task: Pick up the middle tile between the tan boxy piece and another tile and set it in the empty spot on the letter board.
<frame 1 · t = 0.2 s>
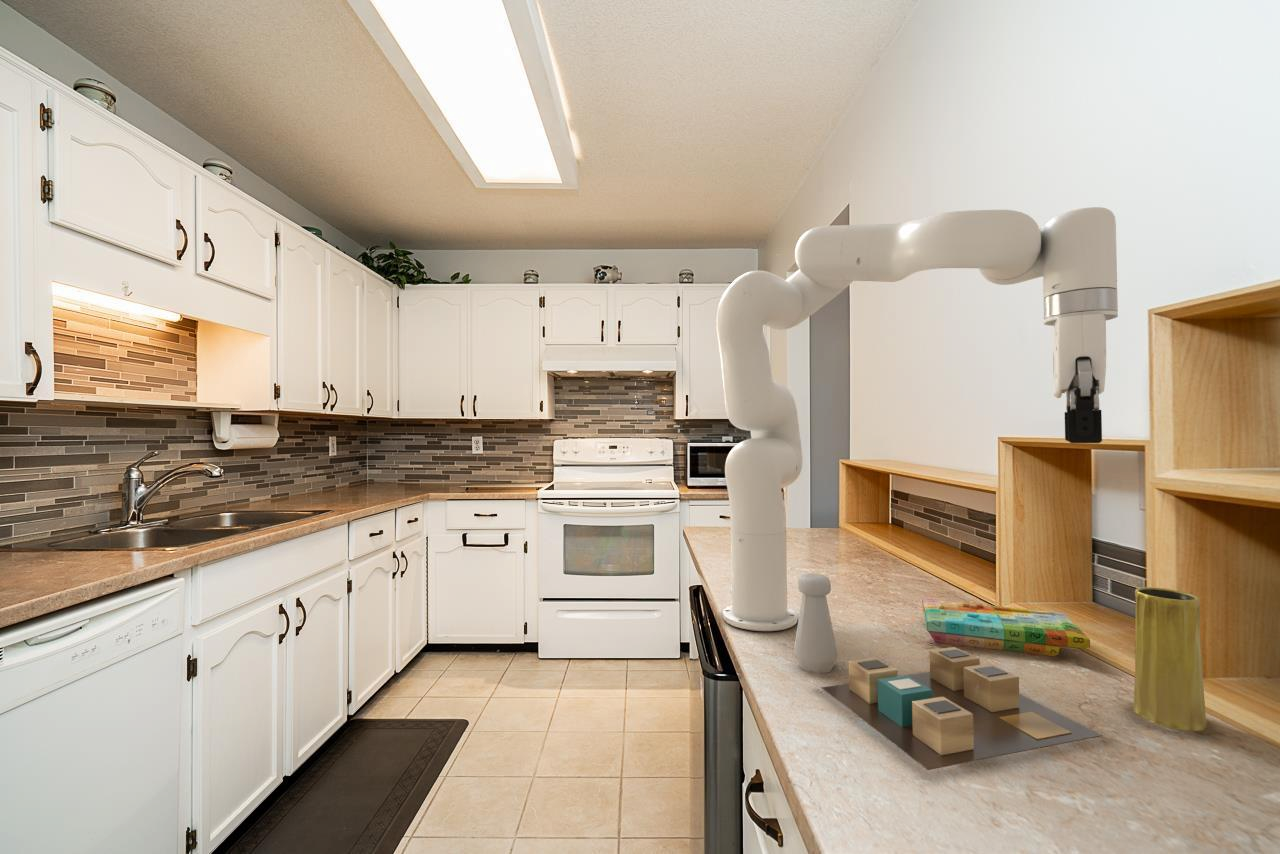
hand: (1082, 442, 73), 31 cm above the countertop, tool pointing down, fingers open, 9 cm apart
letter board: (949, 714, 65), on the countertop
tile s: (905, 716, 64), point 1 cm above the countertop, touching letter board
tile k: (942, 742, 59), point 1 cm above the countertop, touching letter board
vase: (1168, 723, 63), on the countertop
salt shaker: (815, 671, 78), on the countertop
tan boxy piece: (873, 694, 69), point 1 cm above the countertop, touching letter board
puzzle game: (997, 643, 87), on the countertop
tile t: (991, 702, 67), point 1 cm above the countertop, touching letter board
tile i: (954, 682, 72), point 1 cm above the countertop, touching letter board
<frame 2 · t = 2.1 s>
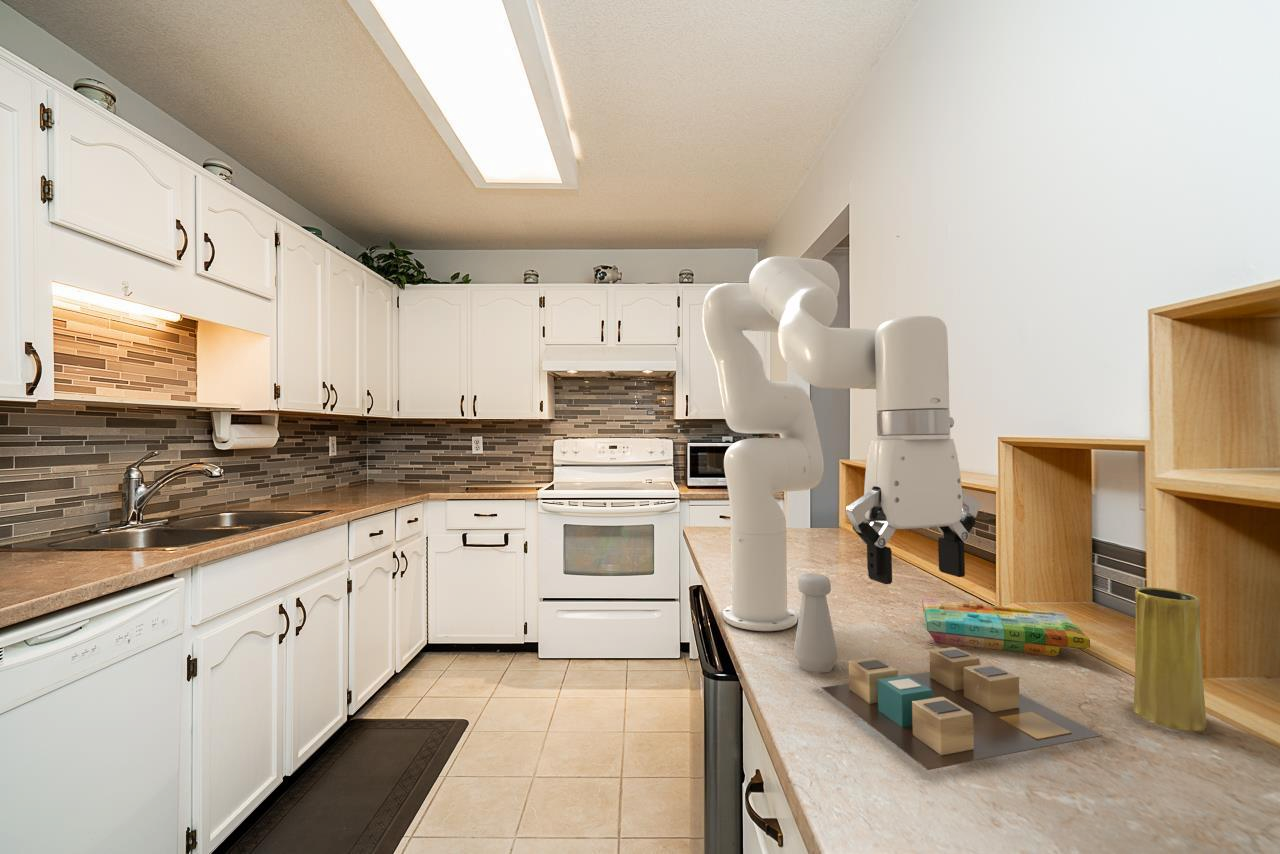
hand: (916, 577, 64), 16 cm above the countertop, tool pointing down, fingers open, 9 cm apart
nothing on the countertop moved.
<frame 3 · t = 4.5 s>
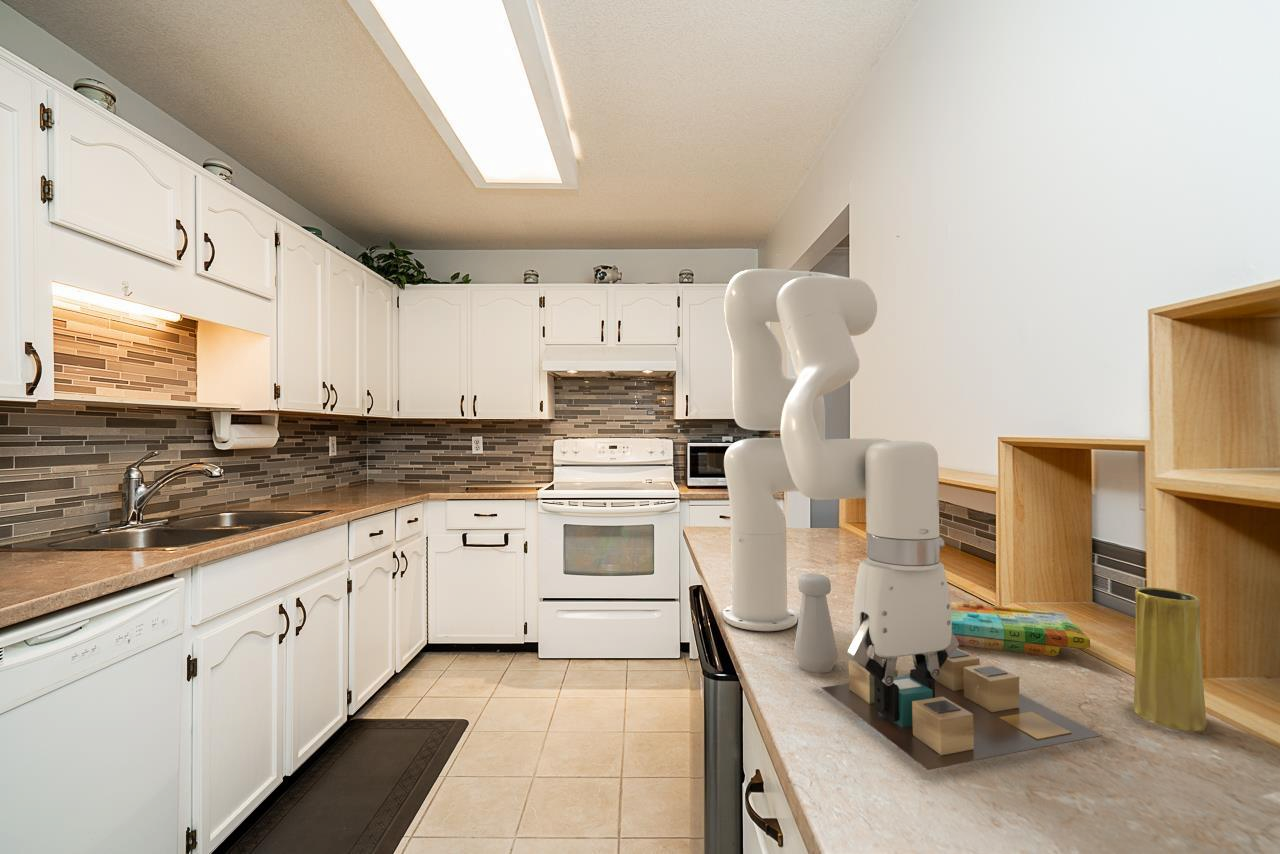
hand: (904, 711, 64), 1 cm above the countertop, tool pointing down, fingers closed on tile s, 4 cm apart
tile s: (905, 716, 64), point 1 cm above the countertop, touching gripper, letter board
everything else where it was.
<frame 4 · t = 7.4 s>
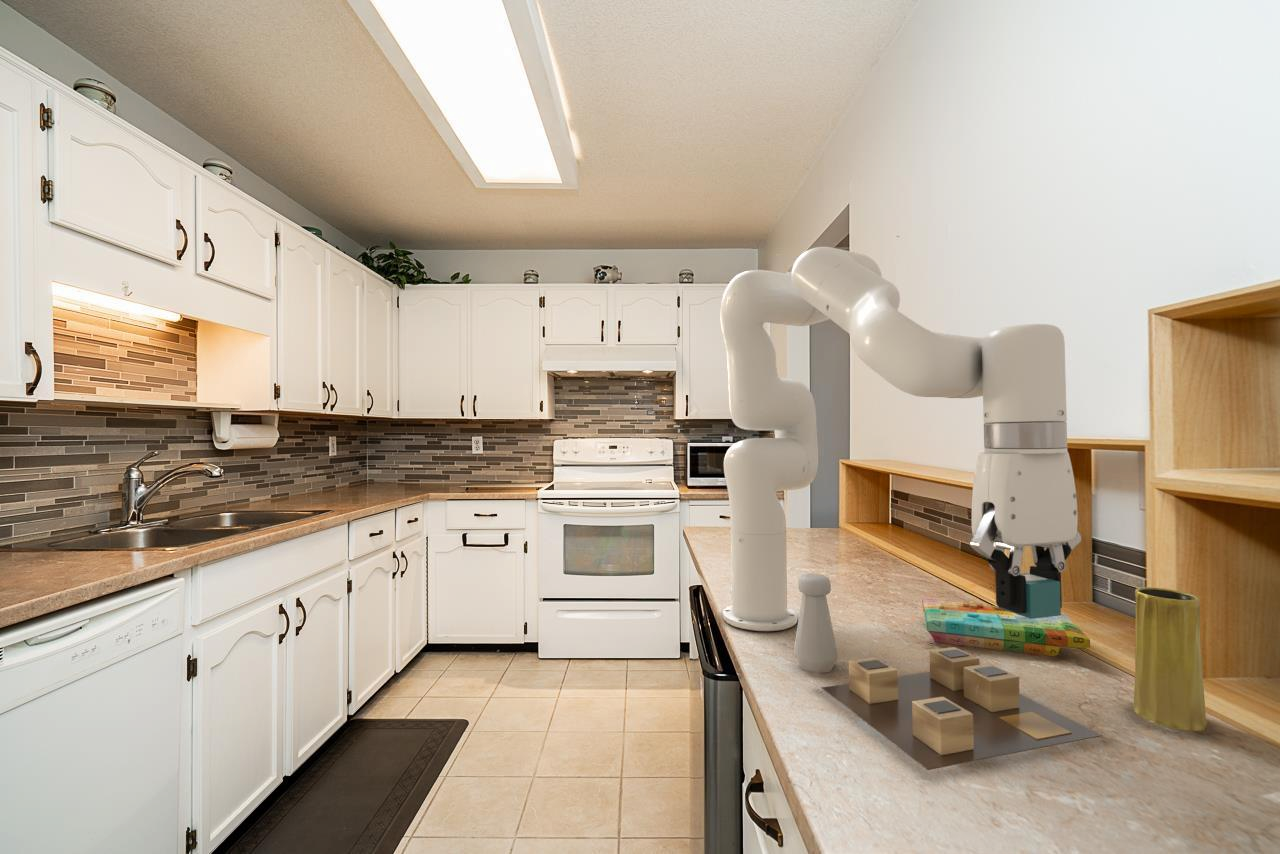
hand: (1028, 605, 62), 14 cm above the countertop, tool pointing down, fingers closed on tile s, 4 cm apart
tile s: (1028, 611, 62), point 13 cm above the countertop, touching gripper
everything else where it was.
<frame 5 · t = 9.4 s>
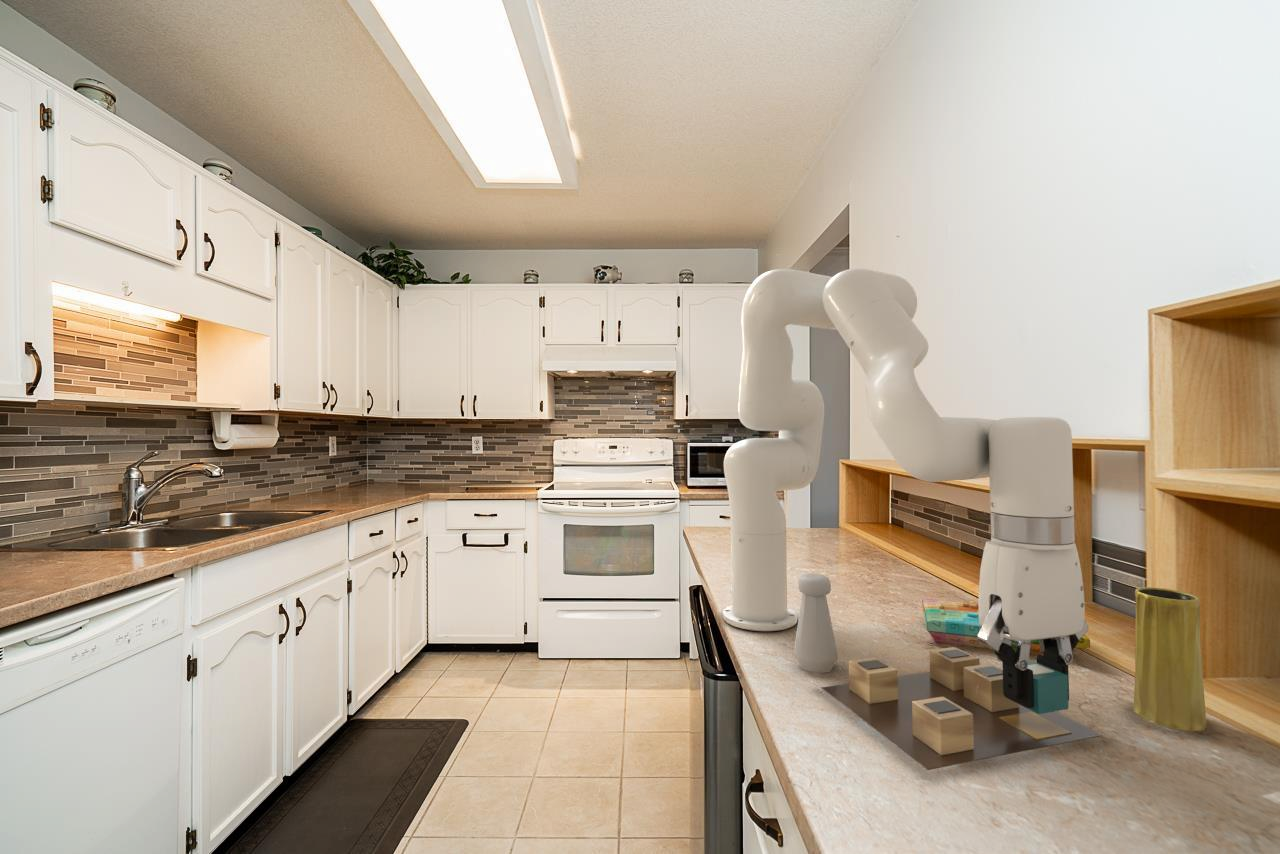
hand: (1035, 697, 61), 4 cm above the countertop, tool pointing down, fingers closed on tile s, 4 cm apart
tile s: (1036, 703, 61), point 3 cm above the countertop, touching gripper
everything else where it was.
when the fingers open (1 cm above the countertop, at t = 10.4 s): tile s stays where it is, resting on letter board.
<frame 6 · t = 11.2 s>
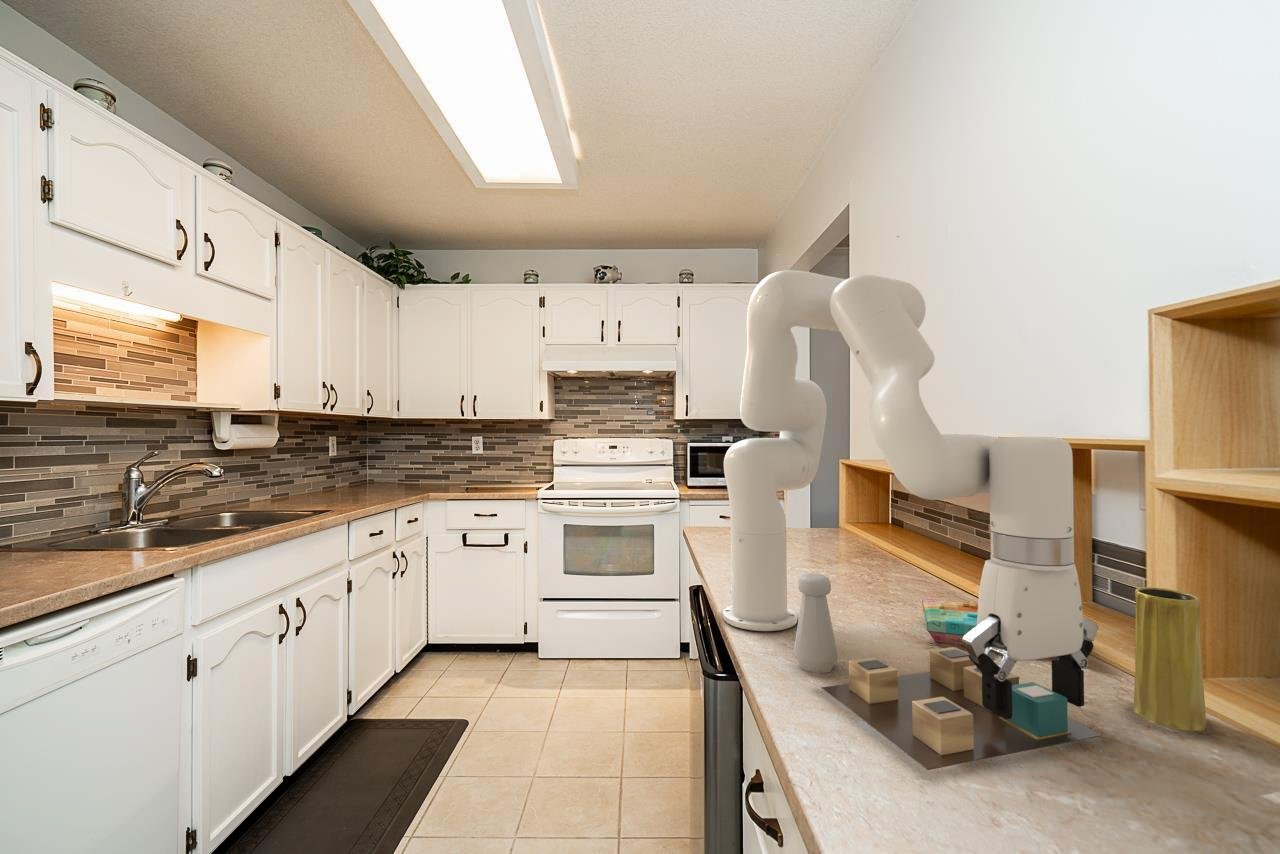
hand: (1033, 706, 62), 3 cm above the countertop, tool pointing down, fingers open, 9 cm apart
tile s: (1035, 725, 61), point 1 cm above the countertop, touching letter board
everything else where it was.
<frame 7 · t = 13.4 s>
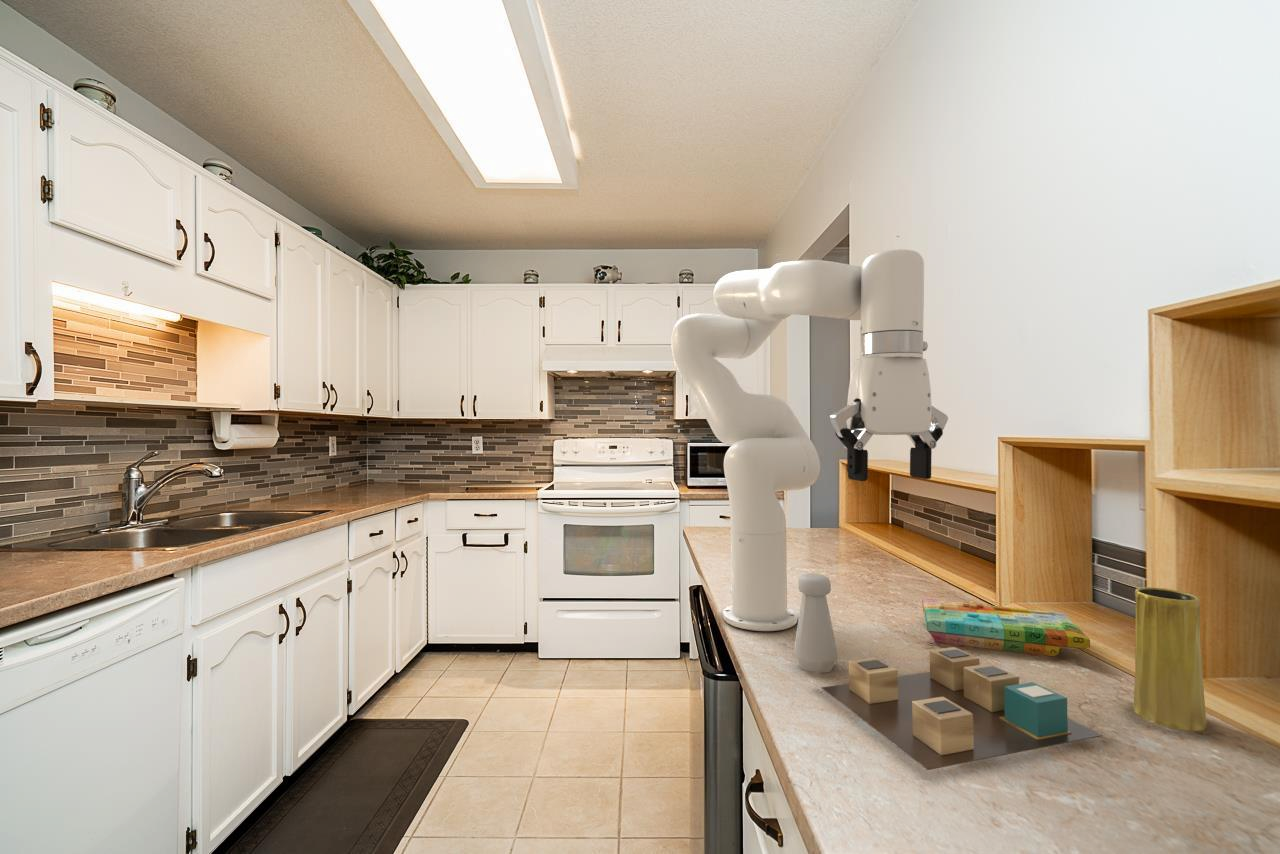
hand: (889, 478, 75), 26 cm above the countertop, tool pointing down, fingers open, 9 cm apart
nothing on the countertop moved.
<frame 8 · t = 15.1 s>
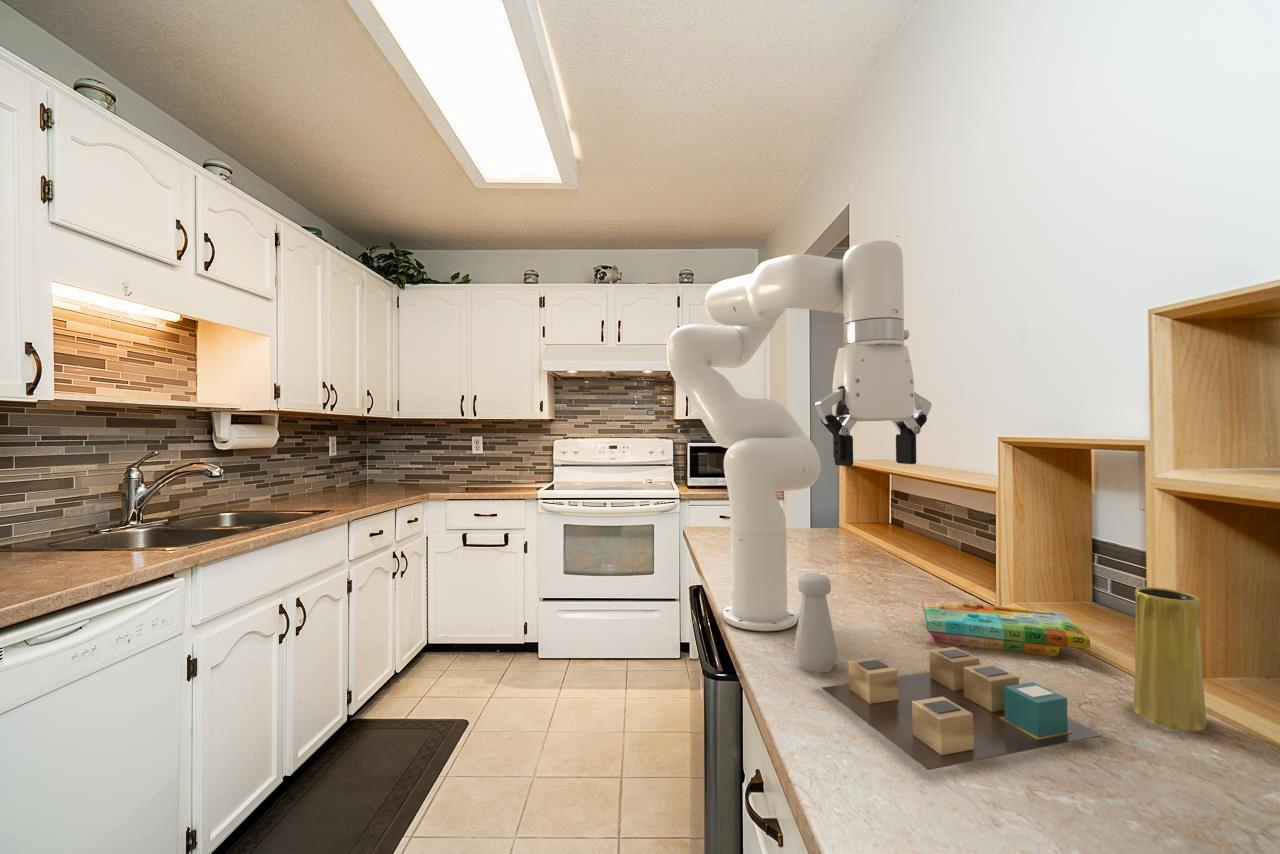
hand: (875, 464, 76), 28 cm above the countertop, tool pointing down, fingers open, 9 cm apart
nothing on the countertop moved.
at the end: tile s 0.1 cm from the target spot, point 0.7 cm above the countertop; tile s tilted 0°; tile t moved 0.0 cm from its start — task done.
